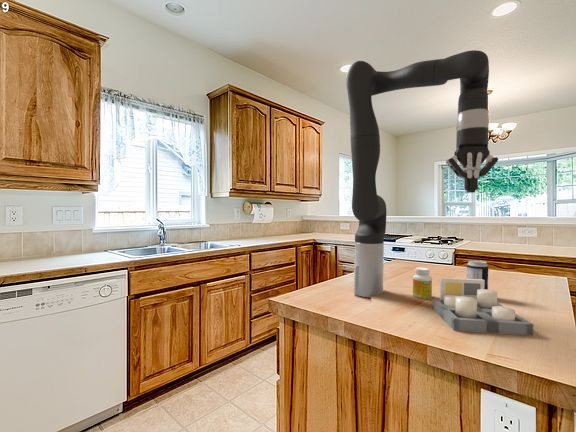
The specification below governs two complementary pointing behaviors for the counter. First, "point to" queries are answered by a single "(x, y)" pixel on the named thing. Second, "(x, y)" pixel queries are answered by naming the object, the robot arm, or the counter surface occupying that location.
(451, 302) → the button back left
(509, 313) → the button front right
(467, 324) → the button board
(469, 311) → the button front left
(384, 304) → the counter surface
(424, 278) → the supplement bottle
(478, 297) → the button back right
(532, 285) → the counter surface
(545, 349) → the counter surface
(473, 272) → the beverage can
